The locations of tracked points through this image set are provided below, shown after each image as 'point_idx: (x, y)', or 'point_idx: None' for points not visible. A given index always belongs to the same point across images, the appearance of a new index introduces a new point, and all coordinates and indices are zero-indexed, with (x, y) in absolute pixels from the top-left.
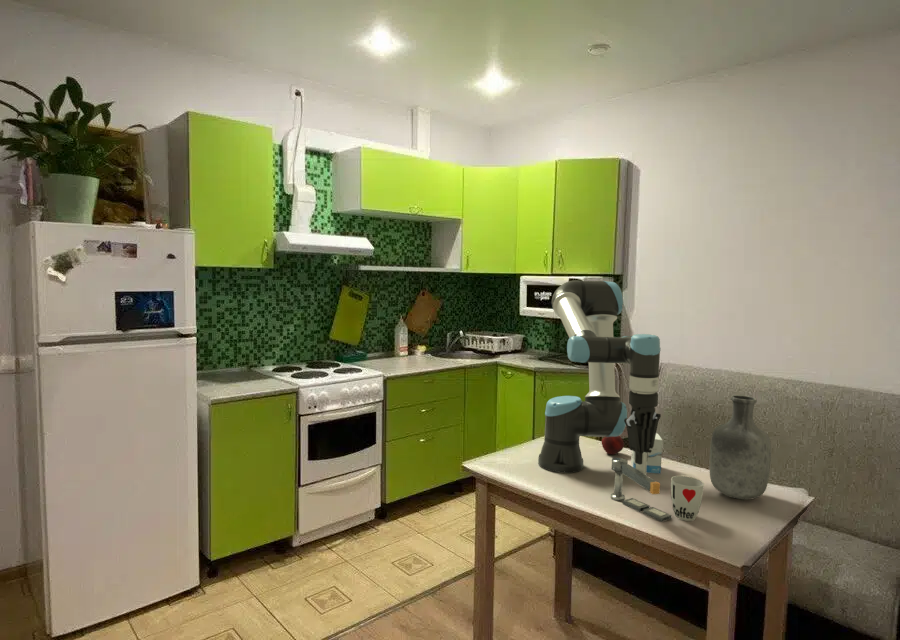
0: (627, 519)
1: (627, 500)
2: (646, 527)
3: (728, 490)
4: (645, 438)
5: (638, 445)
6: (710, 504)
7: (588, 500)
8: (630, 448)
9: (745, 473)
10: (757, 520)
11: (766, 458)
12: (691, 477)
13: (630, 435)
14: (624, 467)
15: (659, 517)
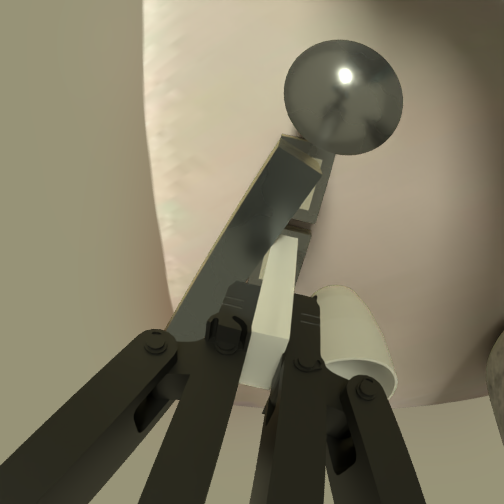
0: (180, 205)
1: (297, 147)
2: (181, 262)
3: (494, 353)
4: (255, 485)
5: (141, 423)
6: (455, 317)
7: (207, 35)
8: (136, 342)
9: (495, 415)
10: (411, 388)
11: None
12: (393, 388)
13: (44, 451)
14: (261, 171)
15: (249, 276)
